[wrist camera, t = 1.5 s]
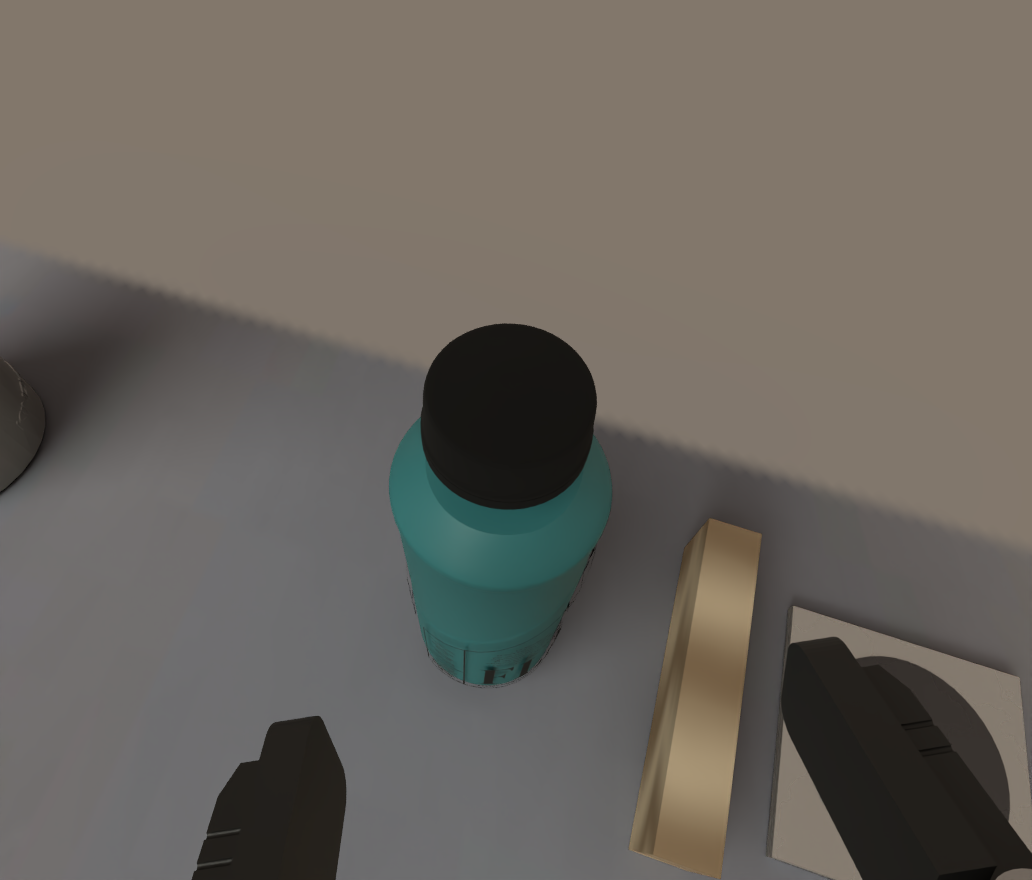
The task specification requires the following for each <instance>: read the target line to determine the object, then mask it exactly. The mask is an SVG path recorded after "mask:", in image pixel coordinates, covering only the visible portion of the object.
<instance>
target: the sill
mask: <svg viewBox="0 0 1032 880" xmlns="http://www.w3.org/2000/svg"><path fill="white" fill-rule="evenodd" d="M761 537H762V534H760V533H757V532H753V531H750V530H747V529H744V528H740V527H737V526H734V525H731V524H727V523H724V522H721V521H718V520H715V519H711V518H709V519H708V520H707V522H706V523H705V524H704V525H703V526H702V528H701V529H700V530H699V531H698V532H697V534H696V535H695V536H694V537H693V538H692V540H691V541H690V542H689V543H688V544H687V546H686V547H685V548H684V553H683V558H682V564H681V569H680V574H679V580H678V585H677V591H676V596H675V601H674V607H673V612H672V618H671V623H670V628H669V634H668V639H667V645H666V650H665V655H664V661H663V666H662V672H661V677H660V682H659V688H658V693H657V699H656V704H655V709H654V715H653V720H652V726H651V731H650V736H649V742H648V747H647V753H646V758H645V763H644V769H643V774H642V780H641V785H640V790H639V796H638V801H637V807H636V812H635V817H634V823H633V828H632V834H631V839H630V844H629V850H631V851H634V852H637V853H640V854H642V855H645V856H648V857H651V858H653V859H656V860H659V861H662V862H664V863H667V864H670V865H673V866H676V867H678V868H681V869H684V870H687V871H690V872H694V873H698V874H702V875H706V876H710V877H714V878H718V879H721V871H722V863H723V854H724V846H725V838H726V829H727V821H728V813H729V804H730V796H731V787H732V779H733V771H734V762H735V754H736V746H737V737H738V729H739V721H740V712H741V704H742V695H743V687H744V679H745V670H746V662H747V654H748V645H749V637H750V629H751V620H752V612H753V603H754V595H755V587H756V578H757V570H758V562H759V553H760V545H761Z"/></svg>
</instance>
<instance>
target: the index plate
mask: <svg viewBox="0 0 1032 880" xmlns="http://www.w3.org/2000/svg"><path fill="white" fill-rule="evenodd" d="M827 637H838V638H839V639H841V640H842V641H843V642H844V643H845V644H846V646H847V647H848V648H849V650H850V651H851V653H852V654H853V656H854V657H855V659H856V660H857V662H858V663H859V664H860V666H861V667H866V666H872V665H879V666H881V667H882V668H883V669H885V670H886V671H887V672H889V673H890V674H891V675H893V676H894V677H895V678H896V679H898V680H899V681H900V682H902V683H903V684H904V685H906V686H907V687H908V688H909V689H910V690H911V691H912V692H913V694H914V695H915V696H916V698H917V699H918V700H919V702H920V703H921V704H922V706H923V707H924V709H925V710H926V711H927V713H928V714H929V715H930V717H931V718H932V719H933V720H932V721H933V724H934V725H935V726H938V727H939V729H940V730H941V732H942V733H943V734H944V736H945V737H946V738H947V740H948V741H949V742H950V744H951V747H952V750H953V751H954V752H957V753H958V754H959V756H960V757H961V759H962V760H963V761H964V763H965V764H966V765H967V767H968V768H969V769H970V771H971V772H972V773H973V775H974V776H975V777H976V779H977V780H978V781H979V783H980V784H981V786H982V787H983V788H984V790H985V791H986V792H987V794H988V795H989V796H990V798H991V799H992V800H993V802H994V803H995V804H996V806H997V807H998V809H999V810H1000V811H1001V813H1002V814H1003V815H1004V817H1005V818H1006V819H1007V821H1008V822H1009V823H1010V825H1011V826H1012V827H1013V829H1014V830H1015V831H1016V833H1017V834H1018V836H1019V837H1020V838H1021V840H1022V841H1023V842H1024V844H1025V845H1026V846H1027V848H1028V849H1029V850H1030V851H1031V853H1032V804H1031V794H1030V783H1029V773H1028V762H1027V752H1026V741H1025V730H1024V720H1023V709H1022V699H1021V688H1020V678H1019V677H1016V676H1013V675H1010V674H1007V673H1004V672H1000V671H997V670H994V669H991V668H988V667H985V666H982V665H978V664H975V663H972V662H969V661H966V660H963V659H960V658H956V657H953V656H950V655H947V654H944V653H941V652H938V651H934V650H931V649H928V648H925V647H922V646H919V645H916V644H912V643H909V642H906V641H903V640H900V639H897V638H894V637H890V636H887V635H884V634H881V633H878V632H875V631H872V630H868V629H865V628H862V627H859V626H856V625H853V624H850V623H846V622H843V621H840V620H837V619H834V618H831V617H828V616H824V615H821V614H818V613H815V612H812V611H809V610H805V609H802V608H799V607H796V606H792V607H791V608H789V609H788V618H787V629H786V640H785V651H784V662H783V673H782V684H781V695H782V688H783V681H784V674H785V667H786V660H787V652H788V647H789V645H790V644H791V643H795V642H802V641H808V640H814V639H821V638H827ZM781 695H780V706H779V717H778V729H777V740H776V751H775V762H774V773H773V784H772V795H771V806H770V817H769V828H768V839H767V850H766V856H767V857H770V858H773V859H775V860H778V861H781V862H784V863H787V864H789V865H792V866H795V867H798V868H801V869H804V870H806V871H809V872H812V873H815V874H818V875H820V876H823V877H826V878H829V879H832V880H862V878H861V876H860V874H859V872H858V870H857V868H856V866H855V864H854V862H853V860H852V858H851V856H850V854H849V852H848V850H847V848H846V846H845V844H844V842H843V840H842V838H841V836H840V834H839V833H838V831H837V829H836V827H835V825H834V823H833V821H832V819H831V817H830V815H829V813H828V811H827V809H826V807H825V805H824V803H823V801H822V799H821V797H820V795H819V793H818V791H817V789H816V787H815V785H814V783H813V781H812V779H811V777H810V775H809V773H808V772H807V770H806V768H805V766H804V764H803V762H802V760H801V758H800V756H799V754H798V752H797V750H796V748H795V746H794V744H793V742H792V740H791V738H790V736H789V733H788V731H787V728H786V725H785V722H784V718H783V714H782V708H781Z"/></svg>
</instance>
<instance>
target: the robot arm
mask: <svg viewBox="0 0 1032 880" xmlns="http://www.w3.org/2000/svg"><path fill="white" fill-rule="evenodd" d="M44 429H45V410H44V407H43V405H42V402H41V399H40V397H39V396H38V395H37V394H36V392H35V391H34V390H33V389H32V387H31V386H30V385H29V384H28V383H27V382H26V381H25V380H24V379H23V378H22V377H21V376H20V374H19V373H18V372H17V371H16V370H15V369H14V368H13V367H12V366H11V365H10V364H9V363H8V362H5V361H4V360H3V359H2V358H1V357H0V492H1V491H2V490H3V489H5V488H6V487H7V486H8V485H9V484H11V483H12V482H13V481H14V480H15V479H16V478H17V477H18V476H19V475H20V474H21V473H22V472H23V471H24V469H25V468H26V467H27V465H28V464H29V463H30V461H31V460H32V459H33V457H34V456H35V454H36V452H37V450H38V448H39V446H40V443H41V441H42V438H43V434H44ZM781 708H782V714H783V718H784V722H785V725H786V728H787V731H788V733H789V736H790V738H791V740H792V742H793V744H794V746H795V748H796V750H797V752H798V754H799V756H800V758H801V760H802V762H803V764H804V766H805V768H806V770H807V772H808V773H809V775H810V777H811V779H812V781H813V783H814V785H815V787H816V789H817V791H818V793H819V795H820V797H821V799H822V801H823V803H824V805H825V807H826V809H827V811H828V813H829V815H830V817H831V819H832V821H833V823H834V825H835V827H836V829H837V831H838V833H839V834H840V836H841V838H842V840H843V842H844V844H845V846H846V848H847V850H848V852H849V854H850V856H851V858H852V860H853V862H854V864H855V866H856V868H857V870H858V872H859V874H860V876H861V878H862V880H1032V853H1031V851H1030V850H1029V849H1028V848H1027V846H1026V845H1025V844H1024V842H1023V841H1022V840H1021V838H1020V837H1019V836H1018V834H1017V833H1016V831H1015V830H1014V829H1013V827H1012V826H1011V825H1010V823H1009V822H1008V821H1007V819H1006V818H1005V817H1004V815H1003V814H1002V813H1001V811H1000V810H999V809H998V807H997V806H996V804H995V803H994V802H993V800H992V799H991V798H990V796H989V795H988V794H987V792H986V791H985V790H984V788H983V787H982V786H981V784H980V783H979V781H978V780H977V779H976V777H975V776H974V775H973V773H972V772H971V771H970V769H969V768H968V767H967V765H966V764H965V763H964V761H963V760H962V759H961V757H960V756H959V754H958V753H957V752H954V751H953V750H952V747H951V744H950V742H949V741H948V740H947V738H946V737H945V736H944V734H943V733H942V732H941V730H940V729H939V727H938V726H935V725H934V724H933V721H932V720H933V719H932V718H931V717H930V715H929V714H928V713H927V711H926V710H925V709H924V707H923V706H922V704H921V703H920V702H919V700H918V699H917V698H916V696H915V695H914V694H913V692H912V691H911V690H910V689H909V688H908V687H907V686H906V685H904V684H903V683H902V682H900V681H899V680H898V679H896V678H895V677H894V676H893V675H891V674H890V673H889V672H887V671H886V670H885V669H883V668H882V667H881V666H879V665H872V666H866V667H861V666H860V664H859V663H858V662H857V660H856V659H855V657H854V656H853V654H852V653H851V651H850V650H849V648H848V647H847V646H846V644H845V643H844V642H843V641H842V640H841V639H839V638H838V637H827V638H821V639H814V640H808V641H802V642H795V643H791V644H790V645H789V647H788V652H787V660H786V667H785V674H784V681H783V688H782V695H781ZM345 807H346V780H345V773H344V769H343V766H342V764H341V761H340V759H339V757H338V754H337V752H336V750H335V747H334V745H333V743H332V741H331V738H330V736H329V734H328V731H327V729H326V727H325V724H324V722H323V720H322V719H321V717H320V716H312V717H306V718H299V719H293V720H287V721H280V722H275V723H273V724H272V725H271V726H270V727H269V729H268V731H267V734H266V738H265V741H264V745H263V748H262V752H261V756H260V759H259V760H258V761H251V762H245V763H240V765H239V766H238V768H237V769H236V771H235V772H234V774H233V775H232V777H231V778H230V780H229V781H228V782H227V784H226V785H225V787H224V788H223V790H222V791H221V793H220V794H219V796H218V798H217V801H216V804H215V808H214V811H213V814H212V817H211V820H210V823H209V827H208V830H207V839H206V840H204V842H203V845H202V849H201V852H200V855H199V858H198V861H197V865H198V866H197V870H196V871H194V874H193V877H192V880H335V879H336V872H337V865H338V858H339V851H340V843H341V836H342V829H343V822H344V815H345Z"/></svg>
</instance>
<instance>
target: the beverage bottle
mask: <svg viewBox="0 0 1032 880" xmlns="http://www.w3.org/2000/svg"><path fill="white" fill-rule="evenodd" d="M596 407H597V396H596V390H595V385H594V381H593V378H592V375H591V373H590V371H589V369H588V367H587V365H586V364H585V362H584V361H583V360H582V358H581V357H580V356H579V355H578V353H577V352H576V351H575V350H574V349H573V348H572V347H571V346H569V345H568V344H567V343H566V342H564V341H563V340H561V339H560V338H558V337H556V336H555V335H553V334H551V333H549V332H547V331H544V330H542V329H538V328H535V327H532V326H527V325H521V324H494V325H489V326H484V327H480V328H477V329H474V330H472V331H469V332H467V333H465V334H463V335H461V336H459V337H457V338H456V339H455V340H453V341H452V342H450V343H449V344H448V345H447V346H446V347H445V348H443V350H442V351H441V352H440V353H439V354H438V355H437V357H436V358H435V360H434V361H433V363H432V365H431V367H430V369H429V371H428V374H427V376H426V380H425V383H424V391H423V408H422V412H421V417H420V418H419V419H418V420H417V421H416V422H415V423H414V424H413V425H412V427H411V428H410V429H409V430H408V431H407V433H406V434H405V436H404V438H403V439H402V441H401V442H400V444H399V446H398V449H397V451H396V453H395V455H394V459H393V462H392V465H391V471H390V478H389V495H390V502H391V508H392V511H393V515H394V519H395V522H396V524H397V526H398V529H399V531H400V535H401V539H402V543H403V548H404V552H405V556H406V560H407V565H408V569H409V573H410V577H411V581H412V588H413V592H412V594H414V599H415V604H416V609H417V614H418V619H419V623H420V628H421V633H422V636H423V640H424V642H425V644H426V647H427V651H428V650H429V652H430V654H431V655H432V657H433V658H434V659H433V658H432V659H433V661H434V660H435V661H436V662H437V664H438V665H439V666H440V667H442V668H443V669H444V670H446V671H447V672H448V674H449V673H450V676H451V675H452V676H453V677H454V676H455V677H457V678H459V679H461V680H463V684H465V681H466V682H469V683H473V684H479V685H478V686H480V685H482V686H483V685H494V686H495V685H496V684H501V685H502V683H506V682H509V681H512V680H514V679H516V678H518V677H521V676H523V675H524V674H526V673H527V672H528V671H529V670H530V669H531V668H532V667H533V666H534V665H535V664H536V663H537V662H538V661H539V660H540V658H541V657H542V656H543V654H544V653H545V651H546V649H547V647H548V645H549V643H550V641H551V640H552V639H553V637H555V635H554V633H555V631H556V628H557V626H558V624H559V622H560V623H561V618H562V616H563V614H564V612H565V611H566V610H567V608H569V607H570V606H571V605H570V606H569V601H570V599H571V597H572V595H573V593H574V591H575V589H576V587H577V584H578V582H579V580H580V578H581V575H582V573H583V571H585V569H586V568H585V566H586V563H587V560H588V557H589V555H590V553H591V551H592V553H591V556H592V554H593V551H594V548H595V545H596V544H597V542H598V540H599V539H600V537H601V535H602V533H603V530H604V528H605V526H606V523H607V521H608V517H609V513H610V510H611V502H612V481H611V475H610V469H609V466H608V462H607V459H606V456H605V454H604V452H603V450H602V447H601V446H600V444H599V442H598V441H597V439H596V437H595V436H594V435H593V425H594V420H595V414H596ZM595 549H596V548H595ZM594 554H595V553H594ZM591 556H590V557H589V559H590V558H591ZM592 561H593V560H592ZM588 563H589V561H588ZM591 564H592V563H591ZM587 565H588V564H587ZM586 567H587V566H586ZM584 568H585V569H584ZM589 570H590V569H589ZM407 580H408V579H407ZM582 581H583V580H582ZM408 584H409V583H408ZM581 586H582V585H581ZM409 589H410V587H409ZM579 591H580V590H579ZM410 593H411V591H410ZM577 594H579V593H577ZM411 597H412V596H411ZM575 597H576V596H575ZM412 601H413V600H412ZM574 601H575V600H574ZM574 601H573V602H574ZM413 605H414V604H413ZM414 606H415V605H414ZM414 610H415V608H414ZM415 614H416V612H415ZM562 623H563V622H562ZM561 625H562V624H561ZM559 627H560V625H559ZM559 627H558V631H557V632H558V633H559V631H560V630H559ZM553 635H554V636H553ZM557 635H558V634H557ZM557 635H556V637H557ZM555 639H556V638H555ZM552 644H553V643H552ZM551 646H552V645H551ZM550 648H551V647H550ZM550 648H549V649H550ZM548 651H549V650H548ZM429 652H428V656H429ZM547 653H549V652H547ZM546 655H547V654H546ZM546 655H545V656H546ZM435 661H434V662H435ZM542 661H543V659H541V660H540V662H542ZM436 662H435V663H436ZM540 662H539V663H540ZM539 663H538V664H539ZM538 664H537V665H538ZM537 665H536V666H537ZM435 666H436V665H435ZM436 667H437V666H436ZM437 668H438V667H437ZM442 668H440V669H442ZM438 669H439V668H438ZM440 669H439V670H440ZM534 669H535V668H534ZM534 669H533V670H534ZM531 670H532V669H531ZM531 670H530V671H531ZM440 671H441V670H440ZM446 671H444V672H446ZM529 673H530V672H529ZM531 673H532V672H531ZM444 674H445V673H444ZM452 676H451V677H452ZM525 676H526V675H525ZM527 676H528V675H527ZM451 677H450V678H451ZM523 677H524V676H523ZM521 678H522V677H521ZM524 678H525V677H524ZM452 679H453V678H452ZM517 680H519V679H517ZM458 682H459V681H458ZM512 682H514V681H512ZM460 683H461V682H460ZM509 683H510V682H509ZM514 683H515V682H514ZM512 684H513V683H512ZM465 685H467V684H465ZM504 685H505V684H504ZM509 685H510V684H509ZM469 686H470V685H469ZM496 686H498V685H496ZM473 687H474V686H473ZM502 687H503V686H502ZM479 688H481V687H479ZM495 688H497V687H495Z"/></svg>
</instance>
